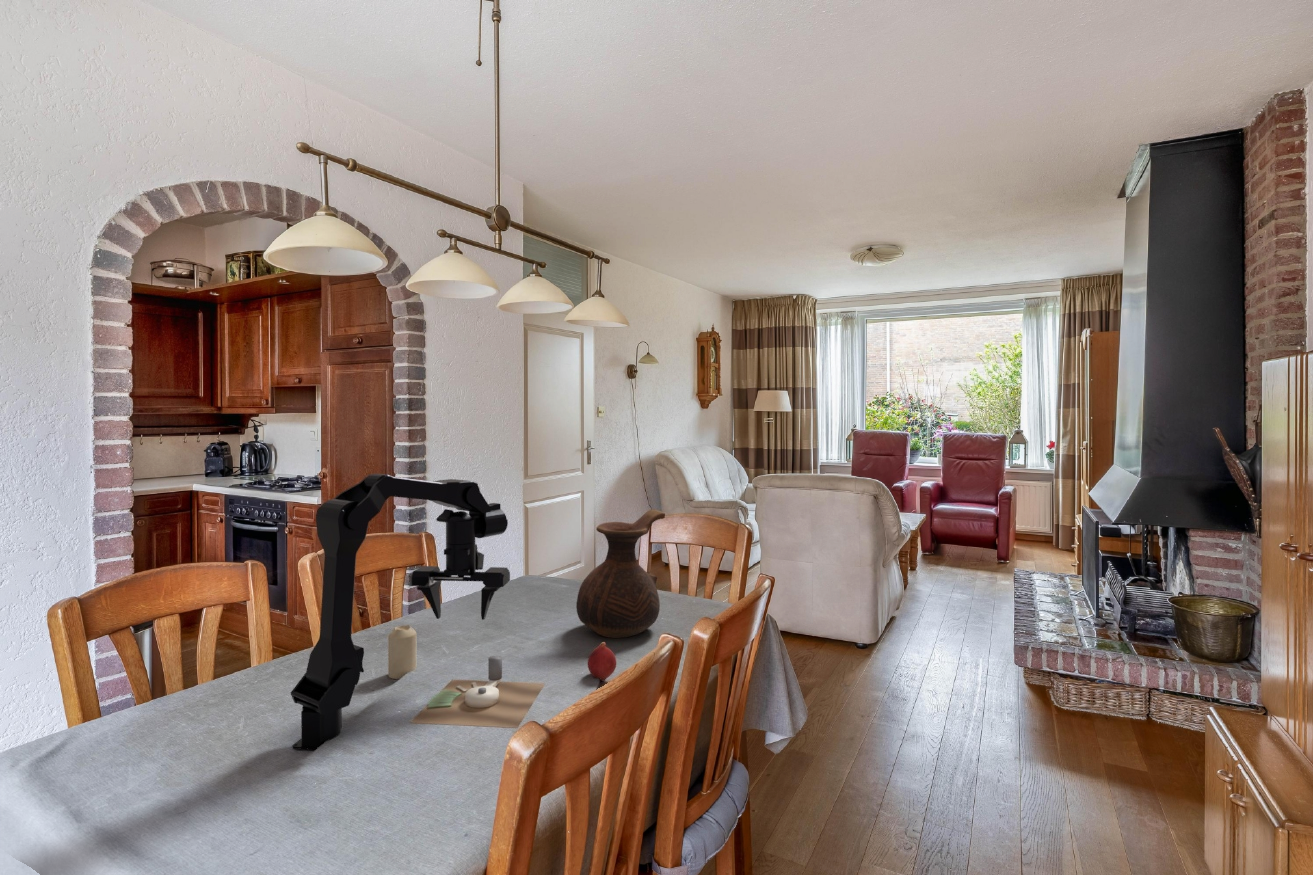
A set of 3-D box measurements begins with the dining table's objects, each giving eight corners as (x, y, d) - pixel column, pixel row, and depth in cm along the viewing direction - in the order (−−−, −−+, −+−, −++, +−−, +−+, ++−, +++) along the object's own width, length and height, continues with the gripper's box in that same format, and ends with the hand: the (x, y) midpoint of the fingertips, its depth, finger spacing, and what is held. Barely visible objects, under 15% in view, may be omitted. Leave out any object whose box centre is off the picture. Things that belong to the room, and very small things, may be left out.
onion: (590, 687, 133) (590, 648, 133) (585, 676, 139) (585, 638, 139) (618, 684, 135) (619, 645, 135) (612, 674, 141) (613, 636, 140)
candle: (406, 680, 136) (406, 632, 136) (382, 678, 137) (382, 630, 137) (421, 670, 142) (421, 623, 141) (398, 668, 143) (398, 622, 142)
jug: (653, 646, 158) (655, 520, 157) (565, 641, 161) (566, 517, 160) (666, 619, 179) (668, 508, 178) (588, 614, 182) (589, 505, 181)
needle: (492, 708, 120) (492, 679, 120) (460, 706, 121) (460, 677, 121) (512, 682, 132) (512, 655, 132) (482, 681, 133) (482, 654, 132)
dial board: (517, 734, 113) (517, 725, 113) (409, 729, 115) (409, 720, 115) (545, 689, 132) (545, 681, 132) (452, 685, 134) (452, 677, 134)
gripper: (516, 535, 142) (516, 608, 142) (430, 534, 142) (430, 606, 143) (502, 545, 130) (502, 624, 131) (408, 544, 131) (409, 622, 132)
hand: (461, 618), depth 135 cm, fingers open, 9 cm apart
